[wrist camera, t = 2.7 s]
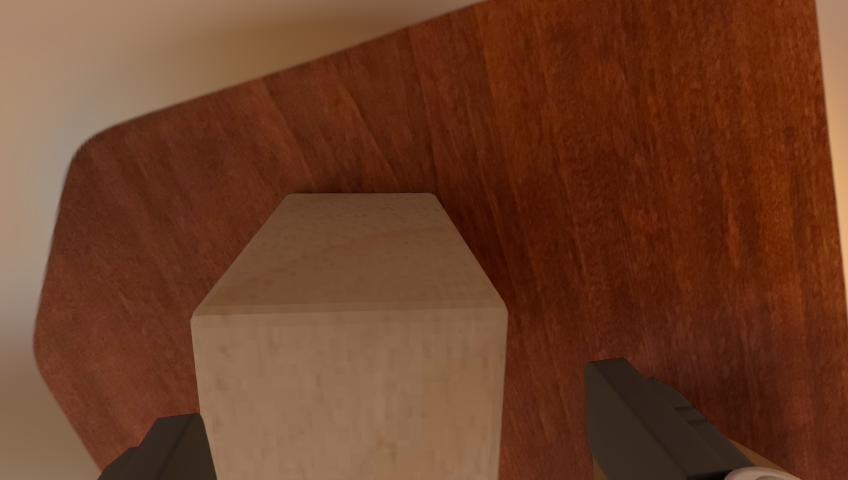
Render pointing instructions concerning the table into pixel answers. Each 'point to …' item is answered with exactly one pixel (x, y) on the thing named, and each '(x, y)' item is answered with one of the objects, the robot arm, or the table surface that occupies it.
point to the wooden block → (353, 347)
